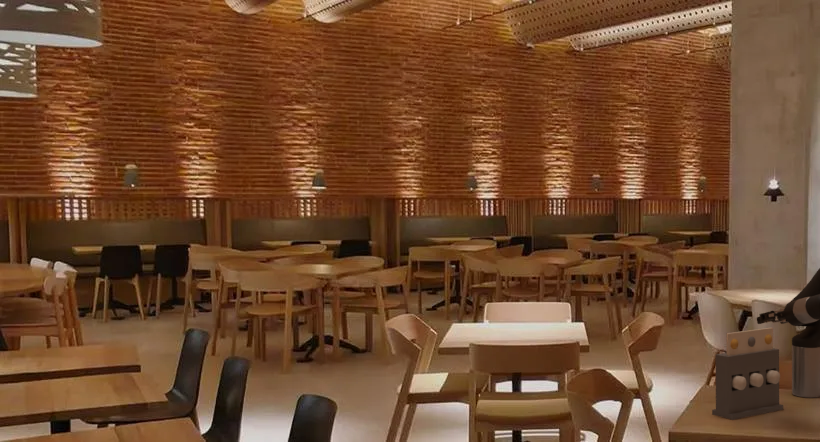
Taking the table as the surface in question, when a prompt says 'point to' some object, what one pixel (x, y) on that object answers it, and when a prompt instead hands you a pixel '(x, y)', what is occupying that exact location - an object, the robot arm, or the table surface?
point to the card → (749, 341)
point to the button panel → (751, 397)
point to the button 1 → (738, 382)
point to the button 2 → (772, 376)
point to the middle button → (755, 379)
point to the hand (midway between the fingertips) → (769, 320)
